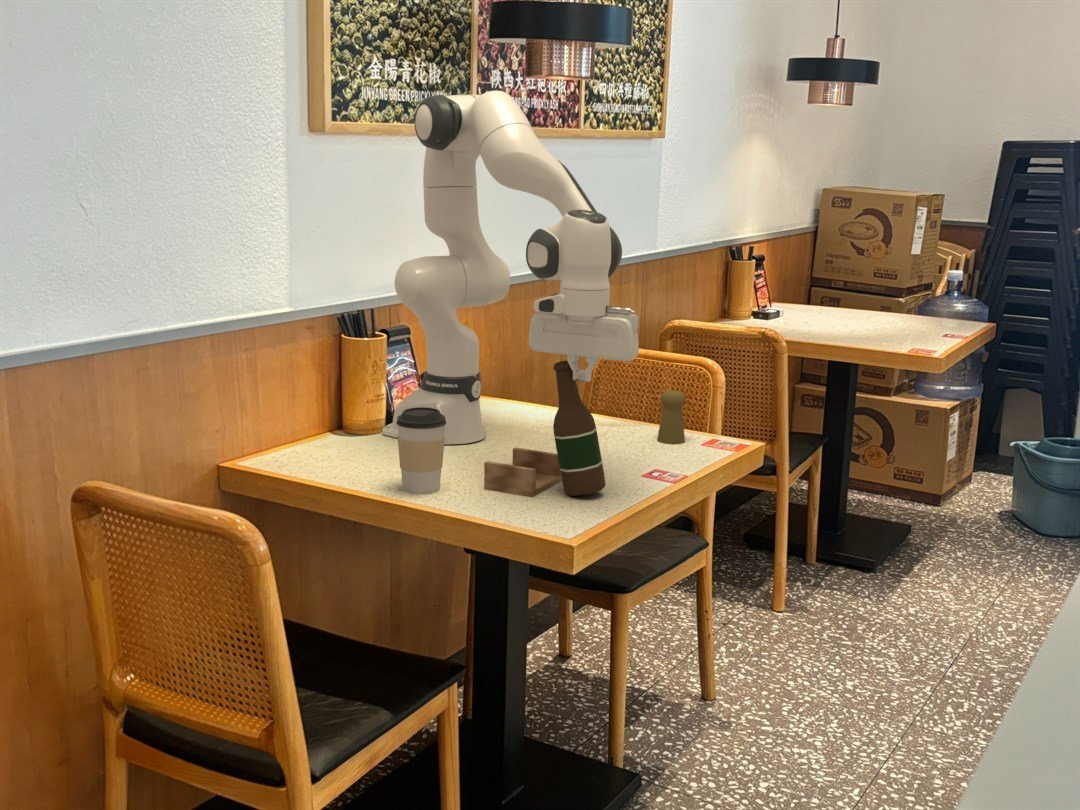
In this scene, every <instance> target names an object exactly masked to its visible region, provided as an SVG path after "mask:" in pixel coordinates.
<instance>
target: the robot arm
mask: <svg viewBox="0 0 1080 810" xmlns="http://www.w3.org/2000/svg"><path fill="white" fill-rule="evenodd" d="M414 130H415V133H416V134H415V135H416V136H417V139H418V141H419V142H420V143H421V145H422V146H424V147H425V152H424V153H425V154H424V160H423V161H424V162H423V176H422V177H423V179H422V180H423V207H424V208H423V209H424V211H423V212H424V214H423V215H424V222H425V225H426V227H427V229H428V231H430V232H431V233H432V234H433V235H434V236H435V235H436V236H437V237H438V238H440V239H443V241H444V242H445V243H446V246H447V248H448V253H449V254H448V255H434V256H433V255H432V256H431V255H430V256H429V255H428V256H422V257H417V258H414V259H413V258H412V259H410V260H406V261H404V262H403V263H401V264H400V266H399V267H398V269H397V271H396V273H395V277H394V289H395V293H396V295H397V296H396V297H398V300H399V301H400V302H401V303H402V304H403V305H404V306H405V307H407V309H409V310H410V311H411V312H412V313H413V314H414V315H415V316H416V318H417V319H418V322H419V323H420V325H421V327H422V330H423V333H424V338H425V347H426V349H425V350H426V371H423V372H421V373H420V374H417V375H416V376H415V377H416V379H415V381H416V382H418V381H420V383H419V387H418V388H417V389H415V391H413V392H411V393H410V394H409V395H408V396H406V397H405V398H403V400H401V401H400V402H398V403H397V405H396V407H395V409H394V412H393V419H392V422H391V423H389V424H387V425H384V427H383V428H382V432H381V434H382V435H385V436H387V437H392V438H395V439H398V425H397V424H396V422H397V418H398V416H400V415H402V413H403V411H404V410H406V409H409V408H417V407H427V408H435V409H438V410H439V411H440V413H441V414H442V415H444V416H445V421H446V424H445V431H444V435H445V441H444V446H445V445H461V444H470V443H475V442H479V441H481V440H483V439H485V438H486V432H485V428H484V425H483V424H484V423H483V420H482V413H481V404H480V403H481V402H480V398H481V392H482V390H481V389H482V388H481V387H482V382H481V381H482V379H481V372H480V371H479V370H480V369H479V368H480V363H479V362H480V340H479V338H478V336H477V334H476V332H475V331H474V330H473V329H471V328H470V327H468V326H466V325H465V324H462V323H461V322H460V321H459V318H458V315H457V309H458V308H469V307H470V308H471V307H483V306H487V305H491V304H494V303H498V302H501V301H502V300H503V299H505V297H506V296H507V294H508V293H509V289H510V286H511V273H510V270H509V268H508V265H507V264H506V262H505V261H504V260H503V259H502V258H501V257H499V256H498V255H497V254H496V253H495V252H494V251H493V250H492V249H491V247H490V246H489V245H488V242H487V240H486V239H485V236H484V234H483V231H482V228H481V224H480V218H479V217H480V216H479V205H478V204H479V203H478V182H477V170H476V169H477V168H476V165H477V164H476V163H477V160H478V158H479V157H481V159H482V162H483V164H484V166H485V168H486V170H487V172H488V173H489V175H490V176H491V177H492V178H493V179H494V180H495V181H496V182H497V183H498V184H500V185H502V186H503V187H505V188H508V189H512V190H514V191H520V192H524V193H526V194H530V195H534V196H537V197H539V198H542V199H544V200H546V201H548V203H549V202H550V203H551V204H552V205H554V206H555V208H557V210H558V212H559V213H560V215H561V216H562V218H561V220H558V221H557V222H554V223H553V224H551V225H548V226H546V227H542V228H537V229H535V231H534V232H533V233H532V234H531V235H530V237H529V239H528V241H527V244H526V248H525V260H526V265H527V266H528V269H529V270H530V272H531V273H532V274H533V275H534V276H535V277H536V278H538V279H539V280H544V281H558V280H559V281H560V285H559V292H558V293H554V294H551V295H549V296H545V297H542V298H539V299H536V300H535V301H534V302H533V310H534V312H535V313H534V314H533V315H532V317H531V319H530V323H529V331H528V346H529V348H530V349H531V350H532V351H533V352H537V353H545V354H547V353H548V354H556V355H564V356H565V355H566V356H567V358H566V361H568V363H569V365H570V367H571V369H572V371H573V380H575V381H576V382H577V381H578V382H584V383H586V382H587V383H589V382H591V381H592V372H593V371H594V370H595V367H596V366H597V364H598V362H599V359H600V360H601V359H602V360H610V361H611V360H612V361H617V362H619V361H620V362H630V361H633V360H635V359H636V358H637V356H639V334H638V333H639V332H638V330H639V327H640V317H639V315H638V313H637V312H636V311H634V310H633V309H632V308H630V307H619V306H612V305H611V306H610V300H611V299H610V293H611V291H610V290H611V284H610V281H609V280H610V279H609V278H610V277H611V276H612V275H613V274H614V273H615V272H616V271H617V269H618V268H619V266H620V264H621V261H622V257H623V247H622V243H621V241H620V238H619V236H618V234H617V233H616V232H615V230H614V229H613V228H612V227H611V226H610V222H609V220H608V219H609V218H607V216H605V215H604V214H602V213H600V212H598V211H597V210H596V209H595V207H594V205H593V204H592V202H591V201H590V199H589V197H588V196H587V195H586V193H585V192H584V190H583V188H582V187H581V185H580V184H579V183H578V181H577V180H576V178H575V177H574V175H573V174H572V172H571V171H570V170H569V169H568V168H567V167H566V165H565V164H564V163H562V162H560V160H559V159H557V158H556V157H555V156H553V155H552V154H551V153H550V152H549V150H548V149H546V147H545V146H544V144H543V143H542V142H541V141H540V139H539V138H538V136H537V135H536V133H535V130H534V129H533V127H532V126H531V123H530V121H529V120H528V118H527V116H526V115H525V113H524V112H523V110H522V108H521V107H520V105H519V104H518V103H517V102H516V101H515V100H514V98H513V96H512V95H511V94H509V93H507V92H505V91H502V90H489V91H486V92H484V93H482V94H473V93H472V94H469V93H468V94H453V95H444V94H435V95H431V96H428V97H424V98H423V99H422V100H421V102H420V103H419V104H418V106H417V108H416V110H415V115H414ZM580 357H583V358H585V363H586V364H588V365H587V367H586V368H585V369H581V368H580V365H579V363H578V361H579V360H580Z"/></svg>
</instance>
